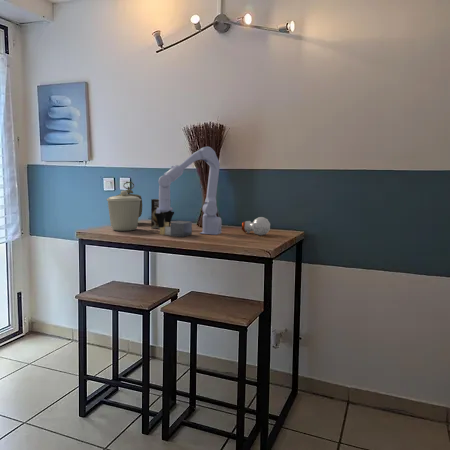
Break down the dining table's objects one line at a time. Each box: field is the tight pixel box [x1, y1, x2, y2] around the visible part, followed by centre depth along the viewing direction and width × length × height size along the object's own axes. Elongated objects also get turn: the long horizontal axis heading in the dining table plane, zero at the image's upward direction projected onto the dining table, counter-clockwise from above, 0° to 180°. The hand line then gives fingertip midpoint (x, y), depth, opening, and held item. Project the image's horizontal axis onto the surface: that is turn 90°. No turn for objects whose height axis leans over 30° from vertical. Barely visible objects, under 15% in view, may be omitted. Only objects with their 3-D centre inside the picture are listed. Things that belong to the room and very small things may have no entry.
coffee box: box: [150, 198, 172, 230], centre depth 236 cm, size 9×6×16 cm
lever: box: [159, 222, 171, 236], centre depth 213 cm, size 11×5×6 cm, turn 72°
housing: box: [170, 220, 193, 238], centre depth 211 cm, size 7×10×6 cm
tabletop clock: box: [115, 181, 143, 218], centre depth 253 cm, size 14×9×25 cm, turn 130°
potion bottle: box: [241, 216, 271, 236], centre depth 219 cm, size 9×10×15 cm
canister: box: [106, 190, 141, 232], centre depth 226 cm, size 18×18×21 cm
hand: (164, 226), depth 214 cm, fingers open, 7 cm apart
